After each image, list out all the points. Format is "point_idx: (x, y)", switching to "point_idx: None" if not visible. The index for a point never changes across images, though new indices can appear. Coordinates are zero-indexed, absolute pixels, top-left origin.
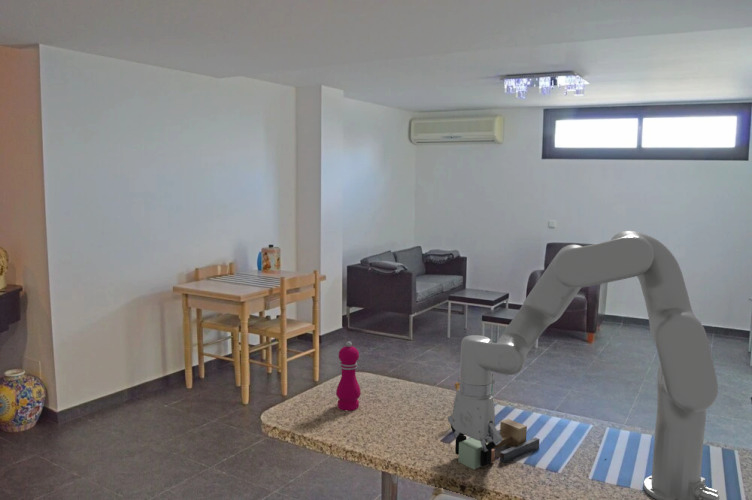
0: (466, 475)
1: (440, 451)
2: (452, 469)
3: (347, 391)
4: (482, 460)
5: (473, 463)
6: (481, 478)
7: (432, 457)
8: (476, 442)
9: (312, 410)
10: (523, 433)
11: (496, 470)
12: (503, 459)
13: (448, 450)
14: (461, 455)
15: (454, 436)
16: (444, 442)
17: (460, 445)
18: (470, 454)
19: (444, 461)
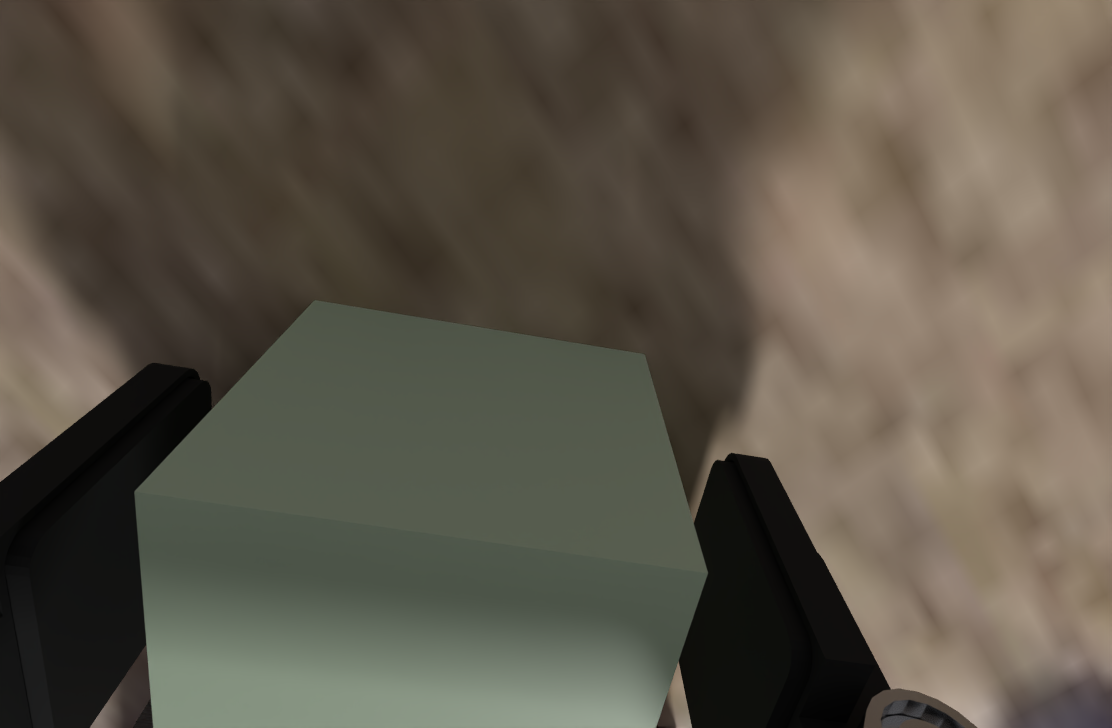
0: (251, 22)
1: (1033, 449)
2: (571, 45)
3: None
4: (84, 415)
5: (299, 339)
6: (16, 115)
7: (1082, 196)
8: None
9: None
10: None
11: None
12: (145, 714)
13: (937, 541)
14: (592, 404)
15: (946, 721)
16: (1077, 676)
17: (645, 521)
18: (341, 421)
19: (836, 212)
